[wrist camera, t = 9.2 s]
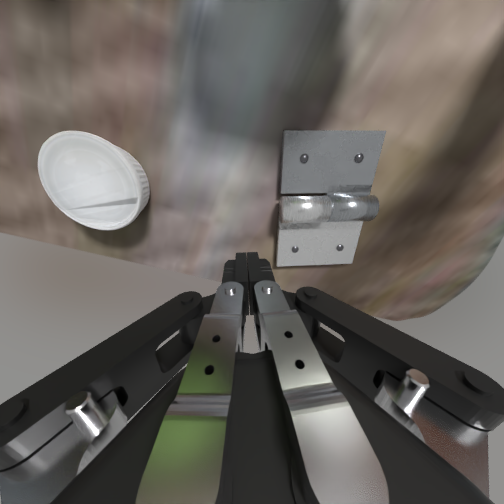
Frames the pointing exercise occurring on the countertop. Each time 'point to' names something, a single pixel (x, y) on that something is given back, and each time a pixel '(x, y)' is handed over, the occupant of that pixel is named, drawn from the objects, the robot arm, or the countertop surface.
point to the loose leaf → (313, 233)
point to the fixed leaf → (333, 169)
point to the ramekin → (92, 180)
